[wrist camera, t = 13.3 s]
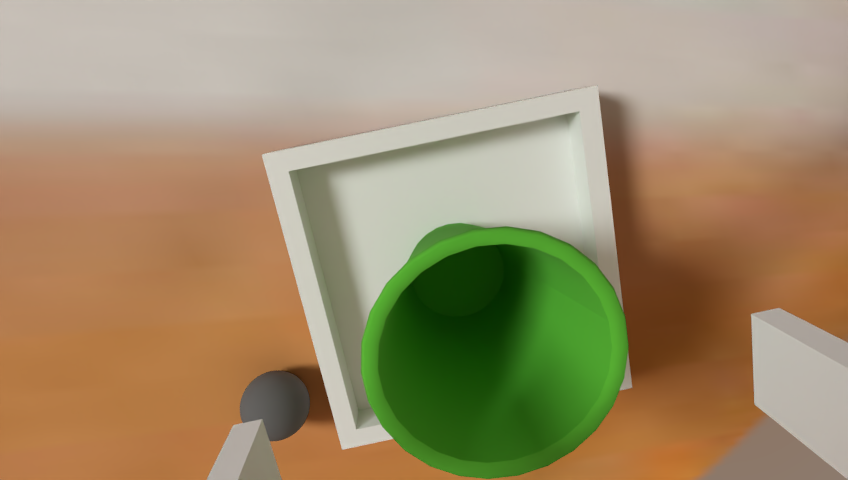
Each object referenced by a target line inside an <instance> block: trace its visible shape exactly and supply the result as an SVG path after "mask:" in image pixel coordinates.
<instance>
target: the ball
mask: <svg viewBox="0 0 848 480" xmlns="http://www.w3.org/2000/svg"><path fill="white" fill-rule="evenodd" d="M309 408H310V398H309V393H308V390H307V388H306V386H305V385H304V383H303V382H302V381H301V380H300V379H299V378H298V377H297V376H295V375H294V374H291V373H289V372H285V371H270V372H266V373H264V374H262V375H260V376H258V377H257V378H255V379H254V380H253V381H252V382H251V383H250V384H249V385H248V387H247V388H246V389H245V391H244V393H243V396H242V398H241V403H240V415H241V419H242V422H243V423H246V422H251V421H255V420H260V419H263V423H264V426H265V429H266V432H267V435H268V438H269V441H279V440H283V439H285V438H288V437H290V436H291V435H293V434H294V433H296V432H297V431H298V430H299V429H300V428H301V426H302V425H303V424H304V422H305V420H306V418H307V416H308V413H309Z"/></svg>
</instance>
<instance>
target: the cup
mask: <svg viewBox="0 0 848 480" xmlns="http://www.w3.org/2000/svg"><path fill="white" fill-rule="evenodd" d="M628 346H629V345H628V337H627V328H626V320H625V314H624V312H623V309H622V307H621V304H620V302H619V299H618V297H617V294H616V292H615V289H614V287H613V286H612V285H611V283H610V282H609V281H608V279H607V278H606V277H605V275H604V274H603V273H602V271H601V270H600V269H599V267H598V266H597V265H596V264H595V263H594V262H593V261H592V260H590V259H589V258H588V257H587V256H585V255H584V254H583V253H581V252H580V251H579V250H577V249H576V248H575V247H574V246H572V245H571V244H569V243H567V242H564V241H562V240H560V239H557V238H555V237H553V236H550V235H548V234H545V233H543V232H541V231H535V230H529V229H522V228H515V227H509V226H503V227H492V228H483V227H479V226H475V225H471V224H464V223H454V224H447V225H444V226H441V227H438V228H436V229H434V230H432V231H431V232H429V233H428V234H426V235H425V236H424V237H423V238H422V239H421V240H420V241H419V242H418V243H417V245H416V247H415V248H414V250H413V252H412V254H411V256H410V257H409V259H408V261H407V263H406V264H405V265H404V266H403V267H402V268H401V269H400V270H399V271H398V272H397V273H396V274H395V275H394V276H393V277H392V278H391V279H390V280H389V281H388V282H387V283H386V285H385V287H384V288H383V290H382V292H381V293H380V295H379V297H378V299H377V300H376V302H375V304H374V305H373V307H372V309H371V311H370V313H369V317H368V320H367V324H366V327H365V331H364V334H363V338H362V341H361V375H362V379H363V383H364V387H365V391H366V395H367V399H368V402H369V404H370V406H371V408H372V409H373V411H374V413H375V415H376V416H377V418H378V420H379V422H380V424H381V425H382V427H383V428H384V429H385V430H386V431H387V432H388V434H389V435H390V436H391V437H392V438H393V439H394V440H395V441H396V442H397V443H398V444H399V445H400V446H401V447H402V448H403V449H404V450H405V451H407V452H408V453H410V454H412V455H413V456H415V457H416V458H418V459H420V460H421V461H423V462H424V463H426V464H428V465H429V466H431V467H434V468H437V469H440V470H443V471H446V472H449V473H452V474H455V475H458V476H466V477H476V478H486V479H491V478H500V477H509V476H518V475H521V474H524V473H527V472H530V471H533V470H536V469H539V468H542V467H545V466H548V465H550V464H551V463H553V462H555V461H556V460H558V459H560V458H562V457H563V456H565V455H567V454H568V453H570V452H572V451H574V450H575V449H576V448H577V447H578V446H579V445H580V444H581V443H582V442H583V441H585V440H586V439H587V438H588V437H589V436H590V435H591V434H592V433H593V432H594V431H596V429H597V428H598V427H599V425H600V424H601V422H602V421H603V419H604V418H605V417H606V415H607V414H608V412H609V411H610V409H611V408H612V407H613V405H614V402H615V400H616V397H617V395H618V392H619V390H620V387H621V385H622V383H623V380H624V377H625V369H626V362H627V355H628Z"/></svg>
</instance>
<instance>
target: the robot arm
mask: <svg viewBox="0 0 848 480" xmlns="http://www.w3.org/2000/svg"><path fill="white" fill-rule="evenodd" d="M751 322H752V350H753V378H754V404H755V405H756V406H757V407H758V408H760V409H761V410H762V411H763V412H765V413H766V414H767V415H768V416H770V417H771V418H772V419H773V420H775V421H776V422H777V423H778V424H780V425H781V426H782V427H783V428H785V429H786V430H787V431H788V432H789V433H791V434H792V435H793V436H795V437H796V438H797V439H798V440H799V441H801V442H802V443H803V444H804V445H806V446H807V447H808V448H809V449H811V450H812V451H813V452H814V453H816V454H817V455H818V456H819V457H821V458H822V459H823V460H824V461H825V462H827V463H828V464H829V465H830V466H832V467H833V468H834V469H836V470H837V471H838V472H839V473H840V474H842V475H843V476H844V477H845V478H847V479H848V343H847V342H845V341H843V340H841V339H839V338H838V337H836V336H834V335H832V334H830V333H828V332H826V331H824V330H822V329H820V328H818V327H816V326H814V325H812V324H810V323H808V322H806V321H804V320H802V319H800V318H798V317H796V316H794V315H792V314H790V313H788V312H786V311H784V310H782V309H780V308H776V309H772V310H767V311H762V312H758V313H753V314H751ZM207 480H282V479H281V476H280V473H279V469H278V466H277V463H276V460H275V457H274V454H273V451H272V448H271V444H270V441H269V438H268V435H267V432H266V429H265V426H264V423H263V419H260V420H255V421H251V422H246V423H241V424H237V425H233V427H232V429H231V431H230V433H229V435H228V437H227V439H226V441H225V443H224V445H223V447H222V449H221V451H220V454H219V456H218V458H217V460H216V462H215V464H214V466H213V468H212V470H211V472H210V474H209V476H208V478H207Z"/></svg>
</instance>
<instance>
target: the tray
mask: <svg viewBox="0 0 848 480" xmlns="http://www.w3.org/2000/svg"><path fill="white" fill-rule="evenodd" d="M262 157H263V161H264V164H265V168H266V172H267V175H268V179H269V183H270V186H271V190H272V194H273V197H274V201H275V205H276V209H277V212H278V216H279V220H280V223H281V227H282V231H283V234H284V238H285V242H286V245H287V249H288V253H289V256H290V260H291V264H292V267H293V271H294V275H295V278H296V282H297V286H298V289H299V293H300V297H301V300H302V304H303V308H304V311H305V315H306V319H307V322H308V326H309V330H310V333H311V337H312V341H313V344H314V348H315V352H316V355H317V359H318V363H319V366H320V370H321V374H322V377H323V381H324V385H325V388H326V392H327V396H328V399H329V403H330V407H331V410H332V414H333V418H334V421H335V425H336V429H337V432H338V436H339V440H340V443H341V447H342V450H343V449H348V448H352V447H357V446H362V445H366V444H371V443H376V442H380V441H385V440H390V439H393V438H392V437H391V436H390V435H389V434H388V432H387V431H386V430H385V429H384V428H383V427H382V425H381V424H380V422H379V420H378V418H377V416H376V415H375V413H374V411H373V409H372V408H371V406H370V404H369V402H368V399H367V395H366V391H365V387H364V383H363V379H362V375H361V341H362V338H363V334H364V331H365V327H366V324H367V320H368V317H369V313H370V311H371V309H372V307H373V305H374V304H375V302H376V300H377V299H378V297H379V295H380V293H381V292H382V290H383V288H384V287H385V285H386V283H387V282H388V281H389V280H390V279H391V278H392V277H393V276H394V275H395V274H396V273H397V272H398V271H399V270H400V269H401V268H402V267H403V266H404V265H405V264H406V263H407V261H408V259H409V257H410V256H411V254H412V252H413V250H414V248H415V247H416V245H417V243H418V242H419V241H420V240H421V239H422V238H423V237H424V236H425V235H426V234H428V233H429V232H431V231H432V230H434V229H436V228H438V227H441V226H444V225H447V224H454V223H464V224H471V225H475V226H479V227H483V228H492V227H503V226H509V227H515V228H522V229H529V230H535V231H541V232H543V233H545V234H548V235H550V236H553V237H555V238H557V239H560V240H562V241H564V242H567V243H569V244H571V245H572V246H574V247H575V248H576V249H577V250H579V251H580V252H581V253H583V254H584V255H585V256H587V257H588V258H589V259H590V260H592V261H593V262H594V263H595V264H596V265H597V266H598V267H599V269H600V270H601V271H602V273H603V274H604V275H605V277H606V278H607V279H608V281H609V282H610V283H611V285H612V286H613V287H614V289H615V292H616V294H617V297H618V299H619V302H620V304H621V307H622V309H623V303H622V294H621V285H620V276H619V268H618V259H617V250H616V241H615V233H614V224H613V215H612V206H611V198H610V189H609V180H608V171H607V163H606V154H605V145H604V136H603V128H602V119H601V110H600V101H599V93H598V85H597V86H591V87H585V88H579V89H574V90H569V91H564V92H559V93H555V94H550V95H545V96H540V97H535V98H530V99H525V100H521V101H516V102H511V103H506V104H501V105H496V106H491V107H487V108H482V109H477V110H472V111H467V112H462V113H458V114H453V115H448V116H443V117H438V118H433V119H428V120H424V121H419V122H414V123H409V124H404V125H399V126H394V127H390V128H385V129H380V130H375V131H370V132H365V133H360V134H356V135H351V136H346V137H341V138H336V139H331V140H327V141H322V142H317V143H312V144H307V145H302V146H297V147H293V148H288V149H283V150H278V151H273V152H270V153H266V154H262ZM623 312H624V311H623ZM629 388H632V381H631V373H630V364H629V355H627V362H626V369H625V377H624V380H623V383H622V385H621V387H620V390H624V389H629ZM620 390H619V391H620Z"/></svg>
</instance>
